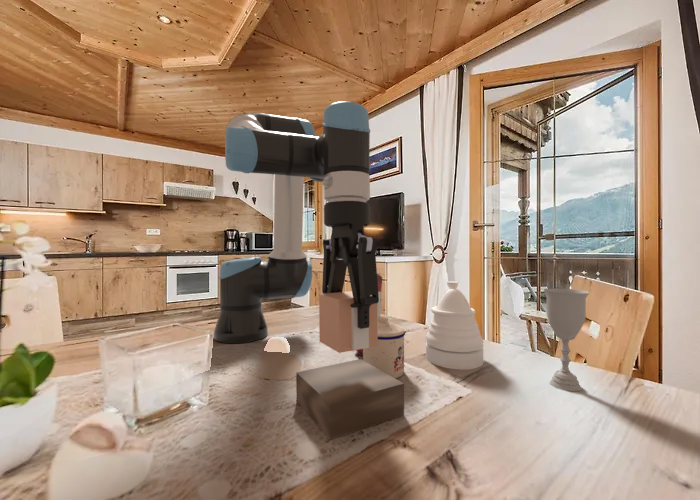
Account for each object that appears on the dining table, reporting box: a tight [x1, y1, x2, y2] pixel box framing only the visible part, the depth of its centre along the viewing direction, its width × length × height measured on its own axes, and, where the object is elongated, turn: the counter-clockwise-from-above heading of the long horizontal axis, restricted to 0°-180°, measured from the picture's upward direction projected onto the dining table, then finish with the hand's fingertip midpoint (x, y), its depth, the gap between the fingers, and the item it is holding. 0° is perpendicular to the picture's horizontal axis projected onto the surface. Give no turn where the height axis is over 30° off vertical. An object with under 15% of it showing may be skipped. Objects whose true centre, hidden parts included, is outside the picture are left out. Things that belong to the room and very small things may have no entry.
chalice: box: [543, 288, 590, 392], centre depth 62 cm, size 7×7×18 cm
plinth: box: [295, 358, 405, 440], centre depth 54 cm, size 13×13×5 cm
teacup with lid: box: [362, 316, 406, 379], centre depth 70 cm, size 12×9×12 cm
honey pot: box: [425, 281, 484, 370], centre depth 77 cm, size 13×13×18 cm
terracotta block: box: [318, 290, 378, 354], centre depth 54 cm, size 7×7×8 cm
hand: (347, 341), depth 54 cm, fingers closed on terracotta block, 7 cm apart
